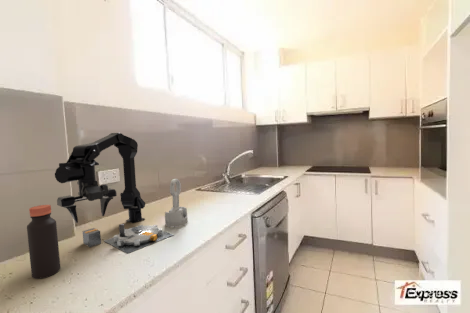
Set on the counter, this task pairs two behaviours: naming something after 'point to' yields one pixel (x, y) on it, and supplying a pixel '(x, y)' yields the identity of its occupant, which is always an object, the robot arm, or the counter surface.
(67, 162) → the robot arm
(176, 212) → the engine component
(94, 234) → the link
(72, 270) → the counter surface
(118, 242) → the sprocket
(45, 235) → the bottle
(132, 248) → the cover plate
